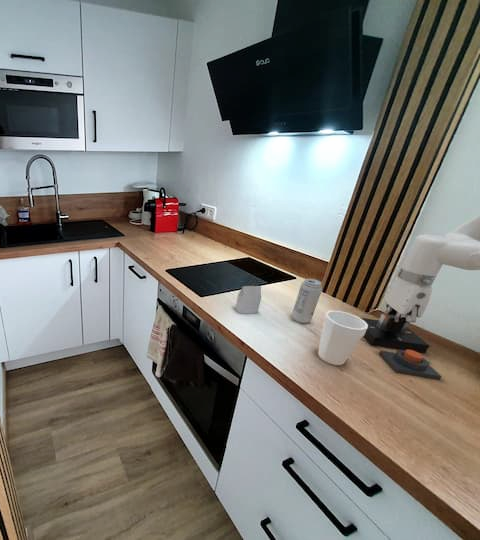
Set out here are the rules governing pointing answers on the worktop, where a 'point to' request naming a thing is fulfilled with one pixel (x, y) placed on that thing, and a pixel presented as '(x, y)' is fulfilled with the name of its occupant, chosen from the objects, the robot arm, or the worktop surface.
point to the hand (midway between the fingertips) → (390, 328)
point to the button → (413, 356)
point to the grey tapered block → (249, 299)
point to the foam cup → (340, 336)
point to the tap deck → (394, 338)
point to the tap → (386, 321)
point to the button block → (409, 365)
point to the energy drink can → (307, 300)
